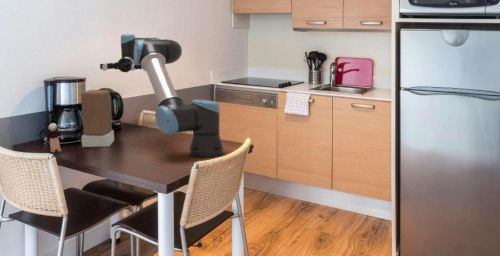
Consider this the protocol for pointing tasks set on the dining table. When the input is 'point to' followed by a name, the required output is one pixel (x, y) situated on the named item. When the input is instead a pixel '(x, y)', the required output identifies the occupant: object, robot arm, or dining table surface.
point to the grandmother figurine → (53, 138)
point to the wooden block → (96, 112)
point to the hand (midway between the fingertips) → (117, 67)
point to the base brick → (98, 140)
